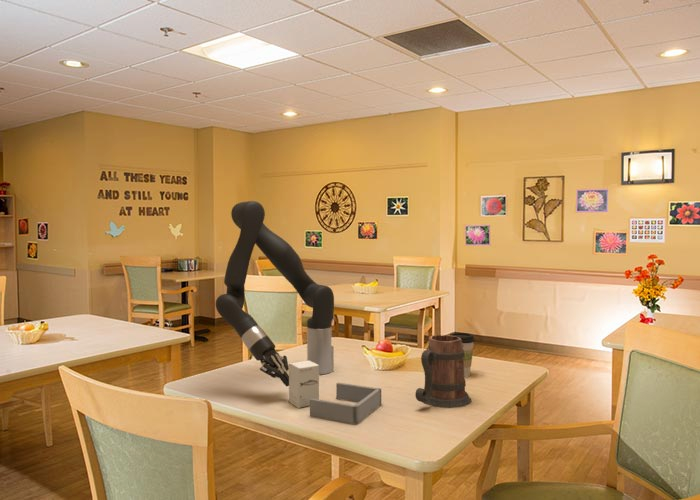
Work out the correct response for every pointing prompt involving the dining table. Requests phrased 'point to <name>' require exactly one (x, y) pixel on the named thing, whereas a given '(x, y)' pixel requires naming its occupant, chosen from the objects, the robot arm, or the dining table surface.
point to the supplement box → (303, 383)
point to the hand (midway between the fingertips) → (290, 384)
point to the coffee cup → (466, 350)
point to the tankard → (444, 373)
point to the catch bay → (346, 412)
